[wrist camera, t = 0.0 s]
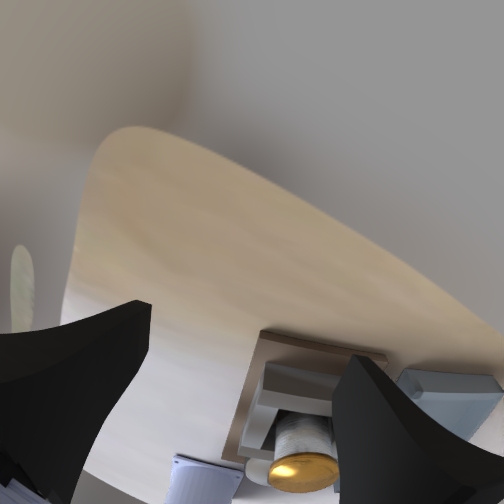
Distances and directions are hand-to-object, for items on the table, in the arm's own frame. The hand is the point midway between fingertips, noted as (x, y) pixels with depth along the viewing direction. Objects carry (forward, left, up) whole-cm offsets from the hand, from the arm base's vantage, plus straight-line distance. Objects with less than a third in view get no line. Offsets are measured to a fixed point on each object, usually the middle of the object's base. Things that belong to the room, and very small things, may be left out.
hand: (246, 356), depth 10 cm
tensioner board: (-13, -6, -10) cm, 17 cm away
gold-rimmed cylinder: (-11, -6, -9) cm, 15 cm away
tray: (-14, -20, -10) cm, 26 cm away
